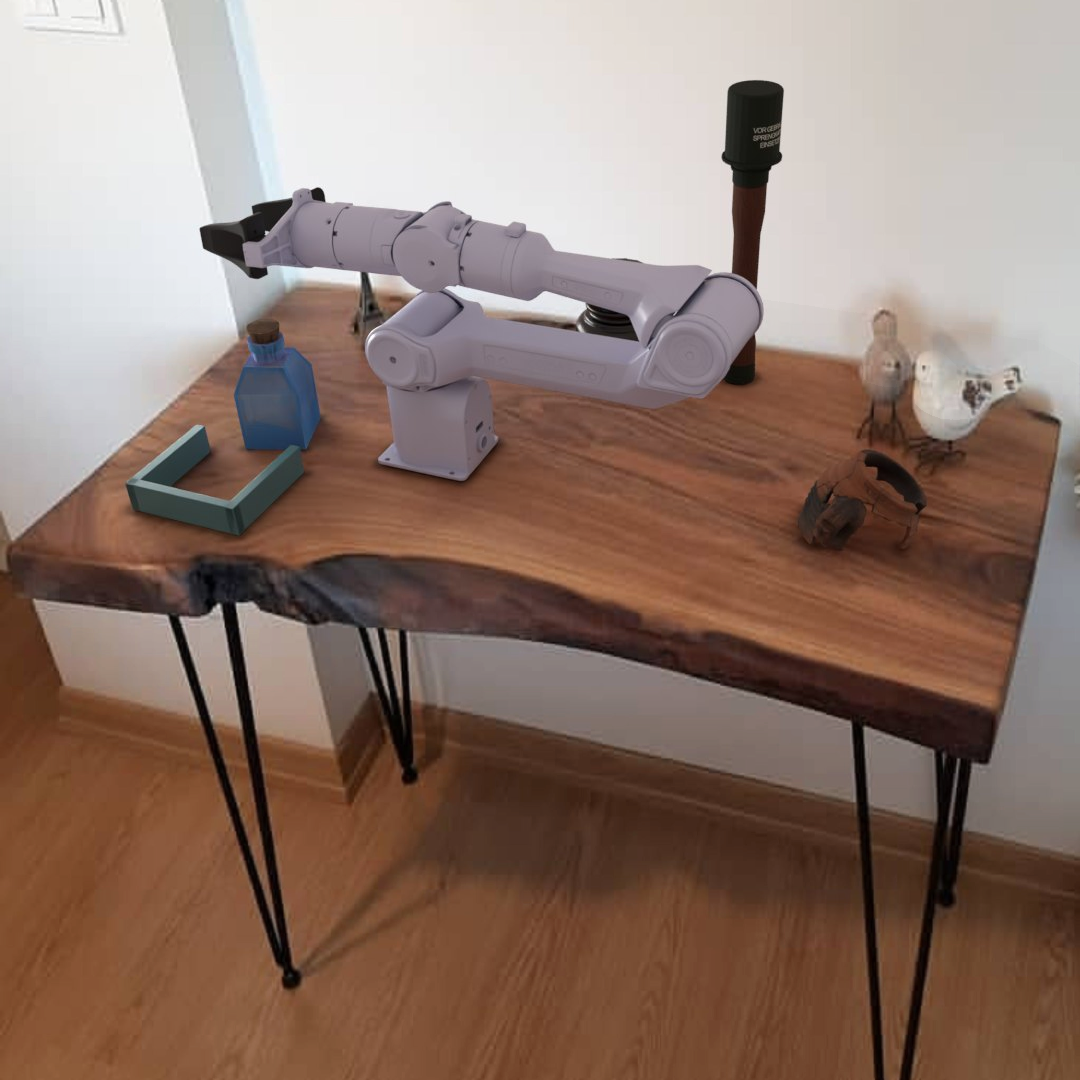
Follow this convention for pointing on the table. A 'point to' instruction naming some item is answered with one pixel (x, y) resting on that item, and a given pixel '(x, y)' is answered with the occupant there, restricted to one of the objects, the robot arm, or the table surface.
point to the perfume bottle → (275, 392)
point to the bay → (227, 516)
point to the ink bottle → (606, 321)
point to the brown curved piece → (860, 500)
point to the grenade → (750, 184)
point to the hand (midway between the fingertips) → (230, 226)
